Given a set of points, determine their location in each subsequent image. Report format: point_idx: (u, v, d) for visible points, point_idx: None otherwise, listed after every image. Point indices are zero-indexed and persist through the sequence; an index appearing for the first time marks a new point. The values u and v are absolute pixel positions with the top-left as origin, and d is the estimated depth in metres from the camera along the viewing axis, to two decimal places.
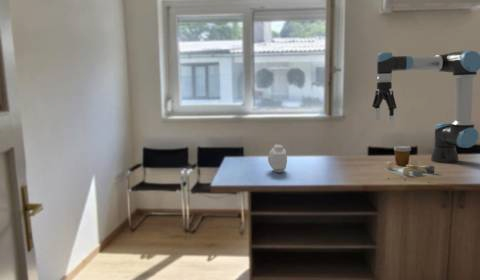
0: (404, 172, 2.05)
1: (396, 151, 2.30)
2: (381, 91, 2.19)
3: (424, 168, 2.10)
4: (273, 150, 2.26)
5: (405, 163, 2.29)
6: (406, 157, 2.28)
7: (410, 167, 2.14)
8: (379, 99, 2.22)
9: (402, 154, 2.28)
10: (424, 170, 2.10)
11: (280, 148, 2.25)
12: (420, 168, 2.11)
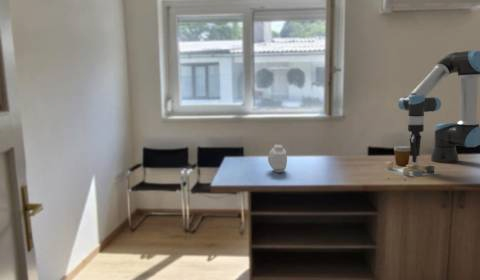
0: (404, 172, 2.05)
1: (396, 151, 2.30)
2: None
3: (424, 168, 2.10)
4: (273, 150, 2.26)
5: (405, 163, 2.29)
6: (406, 157, 2.28)
7: (410, 167, 2.14)
8: None
9: (402, 154, 2.28)
10: (424, 170, 2.10)
11: (280, 148, 2.25)
12: (420, 168, 2.11)
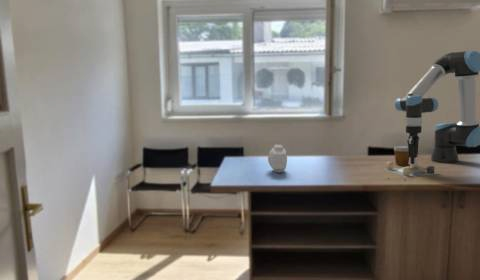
0: (404, 172, 2.05)
1: (396, 151, 2.30)
2: None
3: (425, 169, 2.08)
4: (273, 150, 2.26)
5: (405, 163, 2.29)
6: (406, 157, 2.28)
7: (411, 169, 2.10)
8: None
9: (402, 154, 2.28)
10: (425, 171, 2.09)
11: (280, 148, 2.25)
12: (421, 169, 2.09)
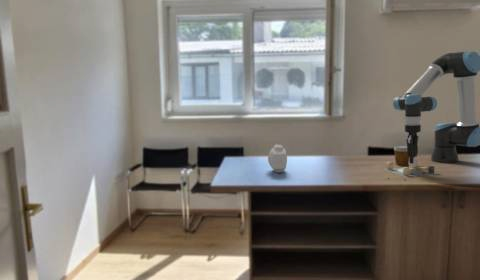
0: (404, 172, 2.05)
1: (396, 151, 2.30)
2: None
3: (427, 169, 2.07)
4: (273, 150, 2.26)
5: (405, 163, 2.29)
6: (406, 157, 2.28)
7: (414, 170, 2.07)
8: None
9: (402, 154, 2.28)
10: (427, 171, 2.08)
11: (280, 148, 2.25)
12: (423, 170, 2.07)
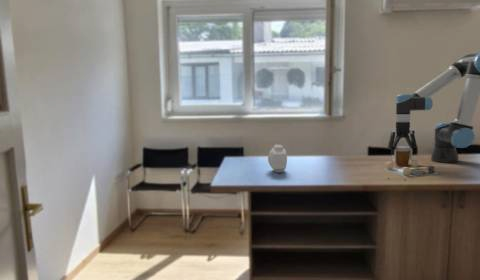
0: (404, 172, 2.05)
1: (396, 151, 2.30)
2: None
3: (427, 169, 2.07)
4: (273, 150, 2.26)
5: (405, 163, 2.29)
6: (406, 157, 2.28)
7: (414, 170, 2.07)
8: (405, 138, 2.32)
9: (402, 154, 2.28)
10: (427, 171, 2.08)
11: (280, 148, 2.25)
12: (423, 170, 2.07)
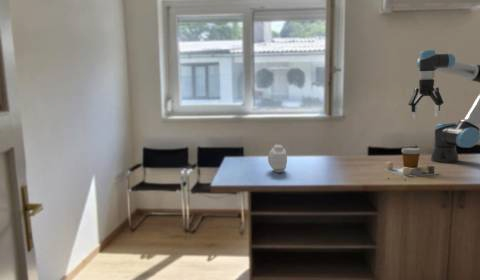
0: (404, 172, 2.05)
1: (404, 153, 2.12)
2: None
3: (427, 169, 2.07)
4: (273, 150, 2.26)
5: (414, 166, 2.11)
6: (415, 160, 2.10)
7: (414, 170, 2.07)
8: (430, 96, 2.25)
9: (411, 157, 2.10)
10: (427, 171, 2.08)
11: (280, 148, 2.25)
12: (423, 170, 2.07)
